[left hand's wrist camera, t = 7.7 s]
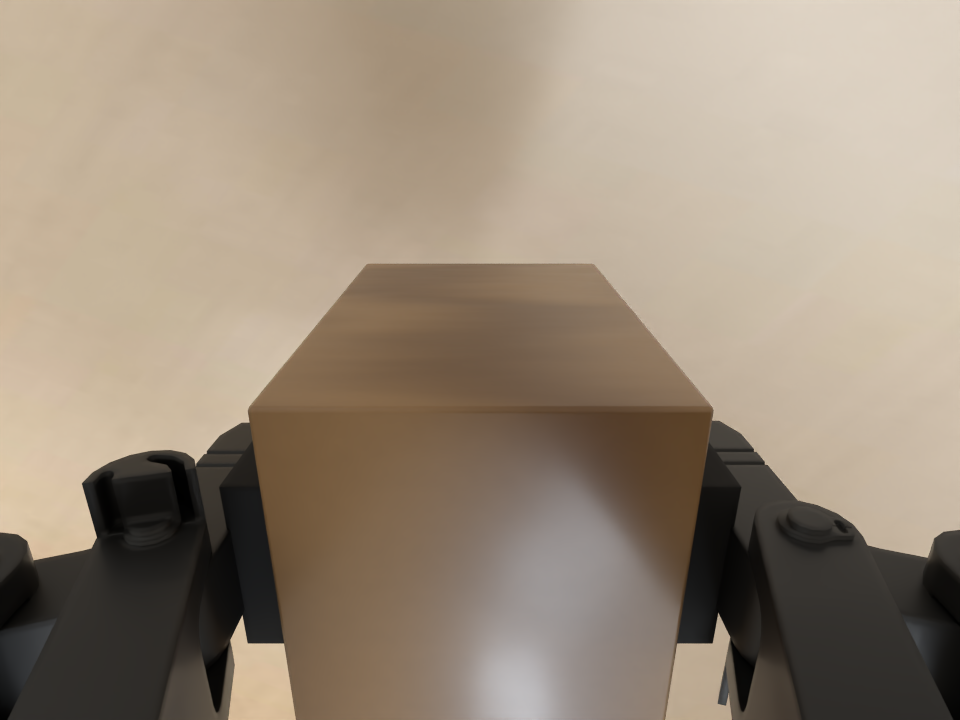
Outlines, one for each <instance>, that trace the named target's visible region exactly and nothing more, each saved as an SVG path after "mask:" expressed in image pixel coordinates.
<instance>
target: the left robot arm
mask: <svg viewBox="0 0 960 720" xmlns="http://www.w3.org/2000/svg"><path fill="white" fill-rule="evenodd" d="M82 485H83V489H84V493H85V496H86V500H87V503H88V507H89V510H90V514H91V517H92V521H93V525H94V528H95V532H96V535H97V539H96V541H95V543H94V545H93V547H92V549H88V550H84V551H80V552H74V553H69V554H64V555H59V556H54V557H49V558H44V559H39V560H33V557H32V554H31V551H30V548H29V545H28V542H27V541H26V540H25V539H23V538H22V537H20V536H19V535H17V534H8V533H0V720H228V716H229V707H230V699H231V691H232V682H233V674H234V666H235V665H234V658H233V652H232V647H231V642H230V639H231V637H232V635H233V633H234V631H235V629H236V627H237V625H238V623H239V621H240V619H241V617H242V615H243V620H244V625H245V631H246V636H247V641H248V643H284V639H283V632H282V626H281V620H280V613H279V607H278V600H277V594H276V588H275V581H274V575H273V568H272V562H271V556H270V549H269V543H268V536H267V530H266V524H265V517H264V511H263V504H262V498H261V491H260V485H259V479H258V472H257V466H256V459H255V453H254V447H253V440H252V434H251V427H250V423H241V424H239V425H237V426H236V427H234V428H232V429H231V430H229V431H227V432H226V433H224V434H222V435H220V436H219V437H218V439H217V440H216V441H215V442H214V443H213V445H212V446H211V447H210V448H209V449H208V451H207V454H204V455H203V456H202V458H201V459H200V460H199V461H198V462H197V464H196V466H195V461H194V459H193V458H192V457H190V456H189V455H187V454H186V453H182V452H177V451H172V450H162V451H148V452H143V453H138V454H134V455H129V456H127V457H124V458H121V459H118V460H116V461H113V462H110V463H108V464H107V465H105V466H103V467H101V468H100V469H98V470H96V471H94V472H93V473H92V474H91V475H90V476H89V477H88V478H87V479H86V480H85V481H84V482H83V483H82ZM718 613H719V615H720V617H721V619H722V621H723V623H724V625H725V627H726V629H727V631H728V633H729V635H730V642H729V647H728V652H727V657H726V662H725V667H724V672H723V677H722V682H721V687H720V692H719V699H718V704H721V705H726V703H727V698H728V693H729V697H730V706H731V714H732V720H960V530H956V531H947V532H943V533H941V534H940V535H939V536H937V537H936V538H934V541H933V544H932V547H931V550H930V553H929V556H928V558H925V557H920V556H915V555H910V554H905V553H900V552H894V551H889V550H884V549H879V548H875V547H871V546H867V544H866V542H865V540H864V538H863V536H862V535H861V534H860V532H859V531H858V530H857V529H856V527H855V526H854V525H853V524H852V523H850V522H849V521H847V520H846V519H844V518H843V517H841V516H840V515H838V514H837V513H834V512H832V511H830V510H827V509H825V508H823V507H820V506H818V505H814V504H810V503H806V502H801V501H797V499H796V498H795V497H794V496H793V495H792V493H791V492H790V491H789V490H788V489H787V488H786V486H785V485H784V484H783V483H782V482H781V480H780V479H779V478H778V477H777V476H776V475H775V473H774V472H773V471H772V470H771V469H770V468H769V466H768V465H765V462H764V460H763V459H762V458H761V457H760V456H759V455H758V453H757V452H754V449H753V447H752V446H751V445H750V444H749V443H748V442H747V440H746V439H745V438H744V437H743V436H742V435H741V434H740V433H739V432H737V431H735V430H734V429H732V428H730V427H728V426H727V425H725V424H723V423H722V422H720V421H712V423H711V430H710V436H709V442H708V449H707V455H706V462H705V468H704V474H703V481H702V487H701V493H700V500H699V506H698V513H697V519H696V525H695V532H694V538H693V544H692V551H691V557H690V563H689V570H688V576H687V583H686V589H685V595H684V602H683V608H682V614H681V621H680V627H679V633H678V640H677V643H713V638H714V633H715V627H716V622H717V617H718Z"/></svg>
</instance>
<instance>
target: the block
mask: <svg viewBox="0 0 960 720" xmlns="http://www.w3.org/2000/svg"><path fill="white" fill-rule="evenodd" d="M248 415H249V421H250V427H251V434H252V440H253V447H254V453H255V459H256V466H257V472H258V479H259V485H260V491H261V498H262V504H263V511H264V517H265V524H266V530H267V536H268V543H269V549H270V556H271V562H272V568H273V575H274V581H275V588H276V594H277V600H278V607H279V613H280V620H281V626H282V632H283V639H284V645H285V652H286V658H287V664H288V671H289V677H290V684H291V690H292V696H293V703H294V709H295V716H296V720H665V716H666V710H667V703H668V697H669V691H670V684H671V678H672V672H673V665H674V659H675V653H676V646H677V640H678V633H679V627H680V621H681V614H682V608H683V602H684V595H685V589H686V583H687V576H688V570H689V563H690V557H691V551H692V544H693V538H694V532H695V525H696V519H697V513H698V506H699V500H700V493H701V487H702V481H703V474H704V468H705V462H706V455H707V449H708V442H709V436H710V430H711V423H712V417H713V408H712V406H711V405H710V404H709V403H708V401H707V400H706V399H705V398H704V397H703V395H702V394H701V393H700V392H699V391H698V389H697V388H696V387H695V386H694V385H693V383H692V382H691V381H690V380H689V378H688V377H687V376H686V375H685V374H684V372H683V371H682V370H681V369H680V368H679V366H678V365H677V364H676V363H675V362H674V360H673V359H672V358H671V357H670V356H669V354H668V353H667V352H666V351H665V350H664V348H663V347H662V346H661V345H660V344H659V342H658V341H657V340H656V339H655V337H654V336H653V335H652V334H651V333H650V331H649V330H648V329H647V328H646V327H645V325H644V324H643V323H642V322H641V321H640V319H639V318H638V317H637V316H636V315H635V313H634V312H633V311H632V310H631V309H630V307H629V306H628V305H627V304H626V303H625V301H624V300H623V299H622V298H621V296H620V295H619V294H618V293H617V292H616V290H615V289H614V288H613V287H612V286H611V284H610V283H609V282H608V281H607V280H606V278H605V277H604V276H603V275H602V274H601V272H600V271H599V270H598V269H597V268H596V266H595V265H594V264H367V265H366V266H365V267H364V268H363V270H362V271H361V272H360V273H359V274H358V276H357V277H356V278H355V279H354V281H353V282H352V283H351V284H350V285H349V287H348V288H347V289H346V290H345V291H344V293H343V294H342V295H341V296H340V297H339V299H338V300H337V301H336V302H335V304H334V305H333V306H332V307H331V308H330V310H329V311H328V312H327V313H326V314H325V316H324V317H323V318H322V319H321V321H320V322H319V323H318V324H317V325H316V327H315V328H314V329H313V330H312V331H311V333H310V334H309V335H308V336H307V338H306V339H305V340H304V341H303V342H302V344H301V345H300V346H299V347H298V348H297V350H296V351H295V352H294V353H293V355H292V356H291V357H290V358H289V359H288V361H287V362H286V363H285V364H284V365H283V367H282V368H281V369H280V370H279V371H278V373H277V374H276V375H275V376H274V378H273V379H272V380H271V381H270V382H269V384H268V385H267V386H266V387H265V388H264V390H263V391H262V392H261V393H260V395H259V396H258V397H257V398H256V399H255V401H254V402H253V403H252V404H251V405H250V407H249V409H248Z"/></svg>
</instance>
